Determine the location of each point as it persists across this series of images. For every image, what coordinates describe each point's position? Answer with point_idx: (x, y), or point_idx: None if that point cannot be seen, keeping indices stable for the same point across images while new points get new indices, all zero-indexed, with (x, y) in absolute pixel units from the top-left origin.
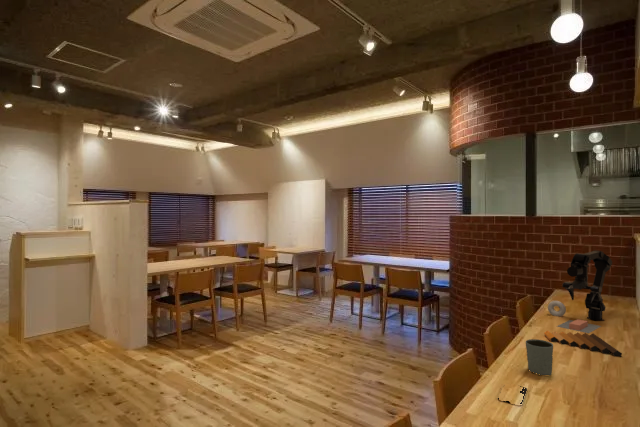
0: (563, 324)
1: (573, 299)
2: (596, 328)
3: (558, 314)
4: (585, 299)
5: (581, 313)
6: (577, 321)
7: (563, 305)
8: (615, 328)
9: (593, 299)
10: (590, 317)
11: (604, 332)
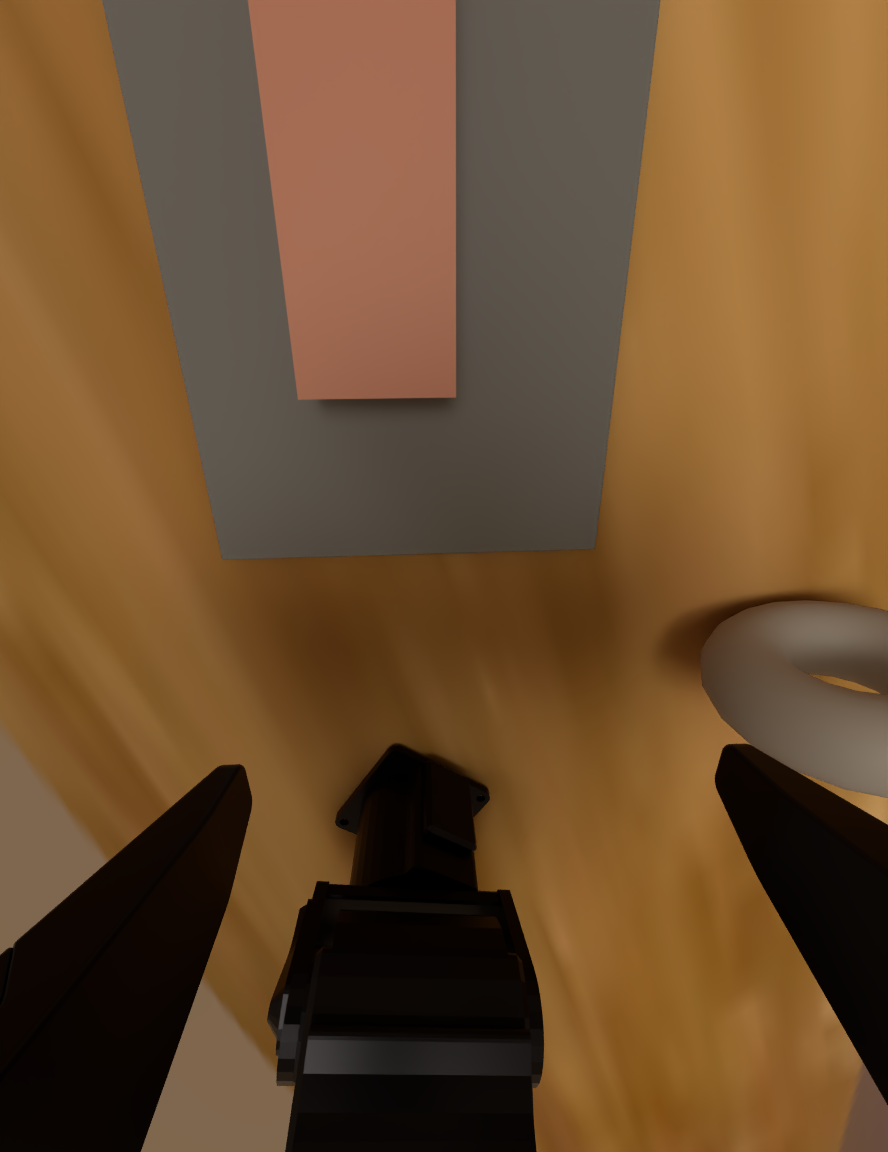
0: (603, 174)
1: (722, 789)
2: (189, 375)
3: (762, 614)
4: (527, 1029)
5: (577, 894)
6: (395, 198)
7: (800, 731)
8: (117, 626)
9: (383, 1071)
10: (439, 774)
11: (55, 302)
